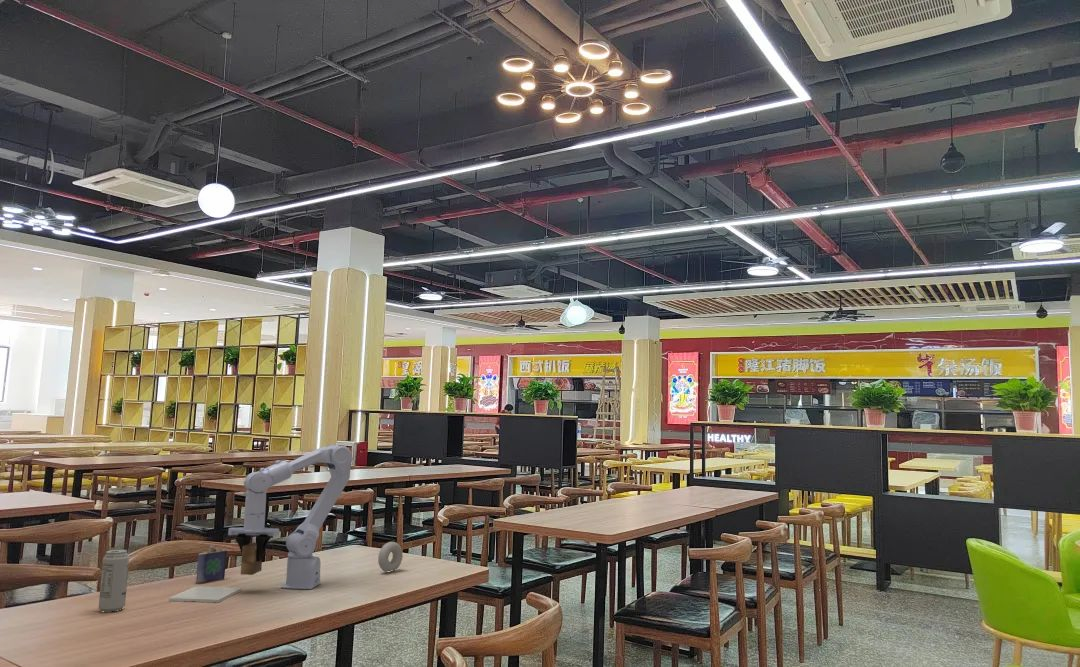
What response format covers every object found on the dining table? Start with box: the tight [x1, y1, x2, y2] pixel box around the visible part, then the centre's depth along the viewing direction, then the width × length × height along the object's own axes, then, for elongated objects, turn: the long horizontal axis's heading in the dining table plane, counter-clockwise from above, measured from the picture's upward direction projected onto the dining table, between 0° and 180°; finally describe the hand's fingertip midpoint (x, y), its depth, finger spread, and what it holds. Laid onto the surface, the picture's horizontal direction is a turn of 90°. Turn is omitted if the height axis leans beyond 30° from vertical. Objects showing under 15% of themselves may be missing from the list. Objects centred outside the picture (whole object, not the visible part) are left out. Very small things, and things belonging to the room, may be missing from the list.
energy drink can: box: [98, 549, 130, 613], centre depth 191 cm, size 6×6×15 cm
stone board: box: [168, 586, 242, 604], centre depth 207 cm, size 14×14×1 cm
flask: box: [195, 545, 228, 585], centre depth 226 cm, size 9×3×11 cm, turn 146°
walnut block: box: [240, 542, 263, 576], centre depth 213 cm, size 4×6×8 cm, turn 177°
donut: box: [377, 541, 403, 572], centre depth 244 cm, size 10×4×10 cm, turn 146°
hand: (252, 560), depth 213 cm, fingers closed on walnut block, 3 cm apart
